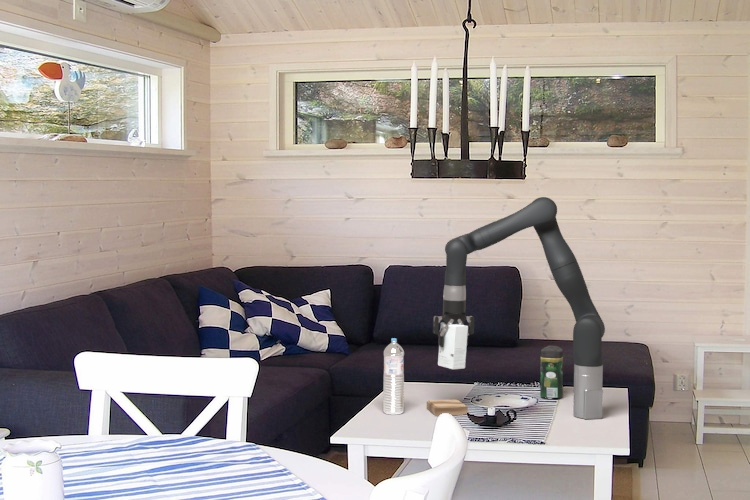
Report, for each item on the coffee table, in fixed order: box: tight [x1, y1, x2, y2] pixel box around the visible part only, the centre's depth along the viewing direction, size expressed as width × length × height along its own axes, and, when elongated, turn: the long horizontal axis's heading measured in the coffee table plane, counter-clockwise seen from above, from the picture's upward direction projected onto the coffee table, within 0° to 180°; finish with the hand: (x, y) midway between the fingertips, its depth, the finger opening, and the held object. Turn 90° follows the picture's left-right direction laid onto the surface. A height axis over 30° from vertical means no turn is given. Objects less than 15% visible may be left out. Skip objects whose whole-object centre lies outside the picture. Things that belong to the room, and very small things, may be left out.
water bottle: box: [382, 337, 405, 416], centre depth 313 cm, size 7×7×25 cm
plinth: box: [426, 398, 469, 417], centre depth 315 cm, size 11×11×3 cm
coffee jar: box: [539, 345, 564, 399], centre depth 339 cm, size 10×8×19 cm
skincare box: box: [437, 321, 469, 370], centre depth 316 cm, size 8×6×15 cm
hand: (453, 346), depth 316 cm, fingers closed on skincare box, 7 cm apart
